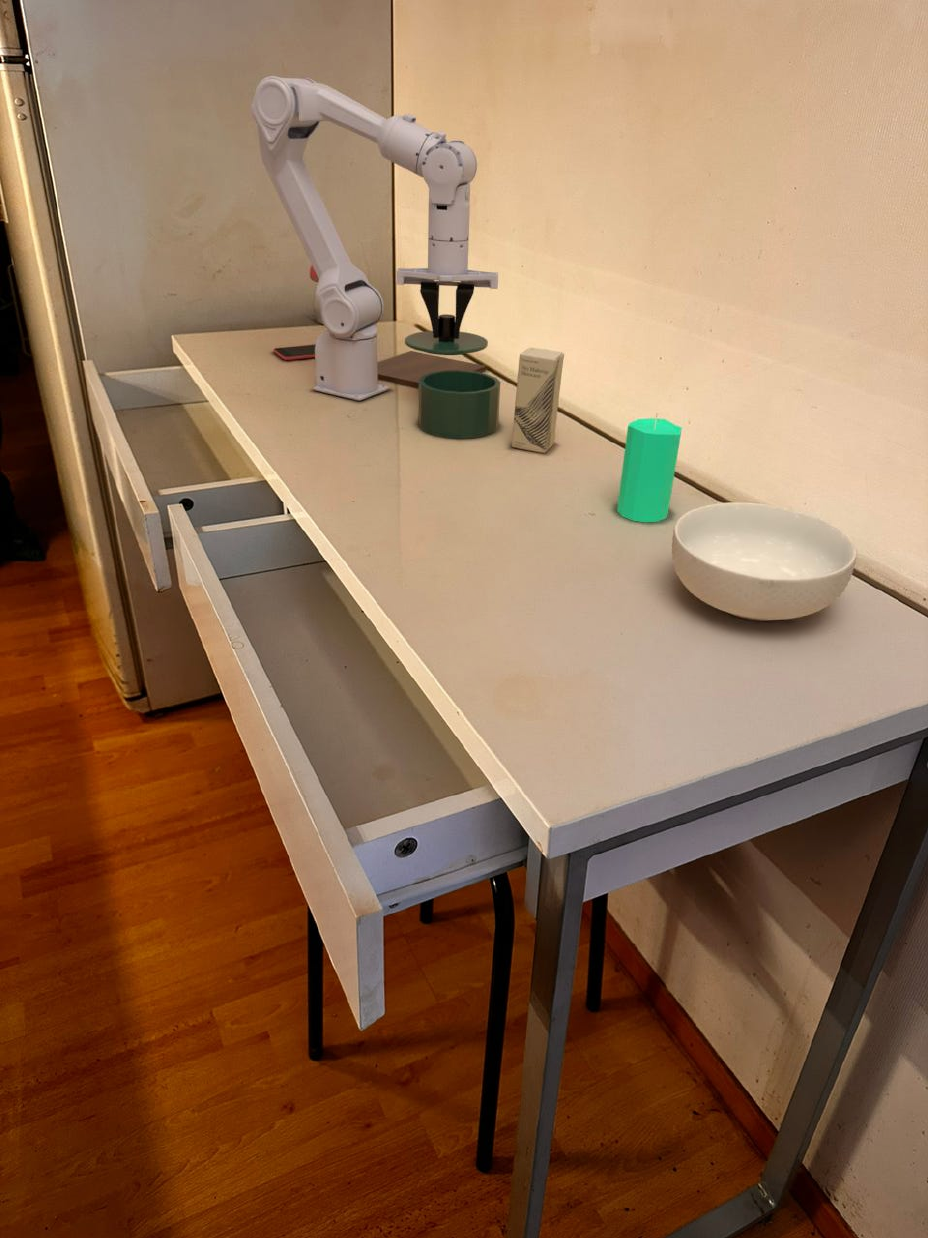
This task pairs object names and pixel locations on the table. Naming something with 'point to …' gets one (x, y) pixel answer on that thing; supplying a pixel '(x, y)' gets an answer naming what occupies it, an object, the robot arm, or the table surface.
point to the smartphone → (296, 352)
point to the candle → (648, 469)
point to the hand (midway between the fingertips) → (446, 336)
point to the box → (537, 399)
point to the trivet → (419, 367)
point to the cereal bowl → (761, 559)
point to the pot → (458, 404)
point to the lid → (446, 340)
